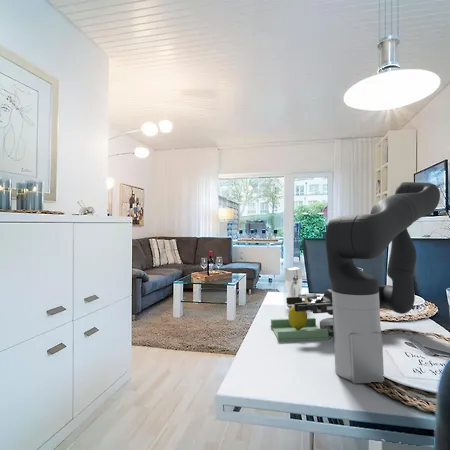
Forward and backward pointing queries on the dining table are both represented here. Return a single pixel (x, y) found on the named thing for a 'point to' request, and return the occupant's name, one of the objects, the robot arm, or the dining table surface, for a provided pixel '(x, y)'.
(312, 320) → the side chute
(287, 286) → the beer glass
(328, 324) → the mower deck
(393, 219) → the robot arm
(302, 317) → the lemon
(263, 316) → the dining table surface
